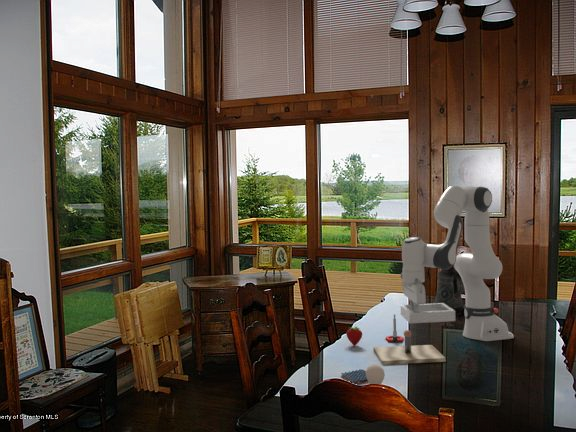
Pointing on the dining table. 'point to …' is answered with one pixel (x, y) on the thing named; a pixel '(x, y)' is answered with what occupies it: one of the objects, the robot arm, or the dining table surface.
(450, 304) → the beer stein
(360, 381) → the woven mat
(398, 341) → the tow hook
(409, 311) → the steel link
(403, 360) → the board
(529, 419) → the dining table surface
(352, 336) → the strawberry
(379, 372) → the light bulb
